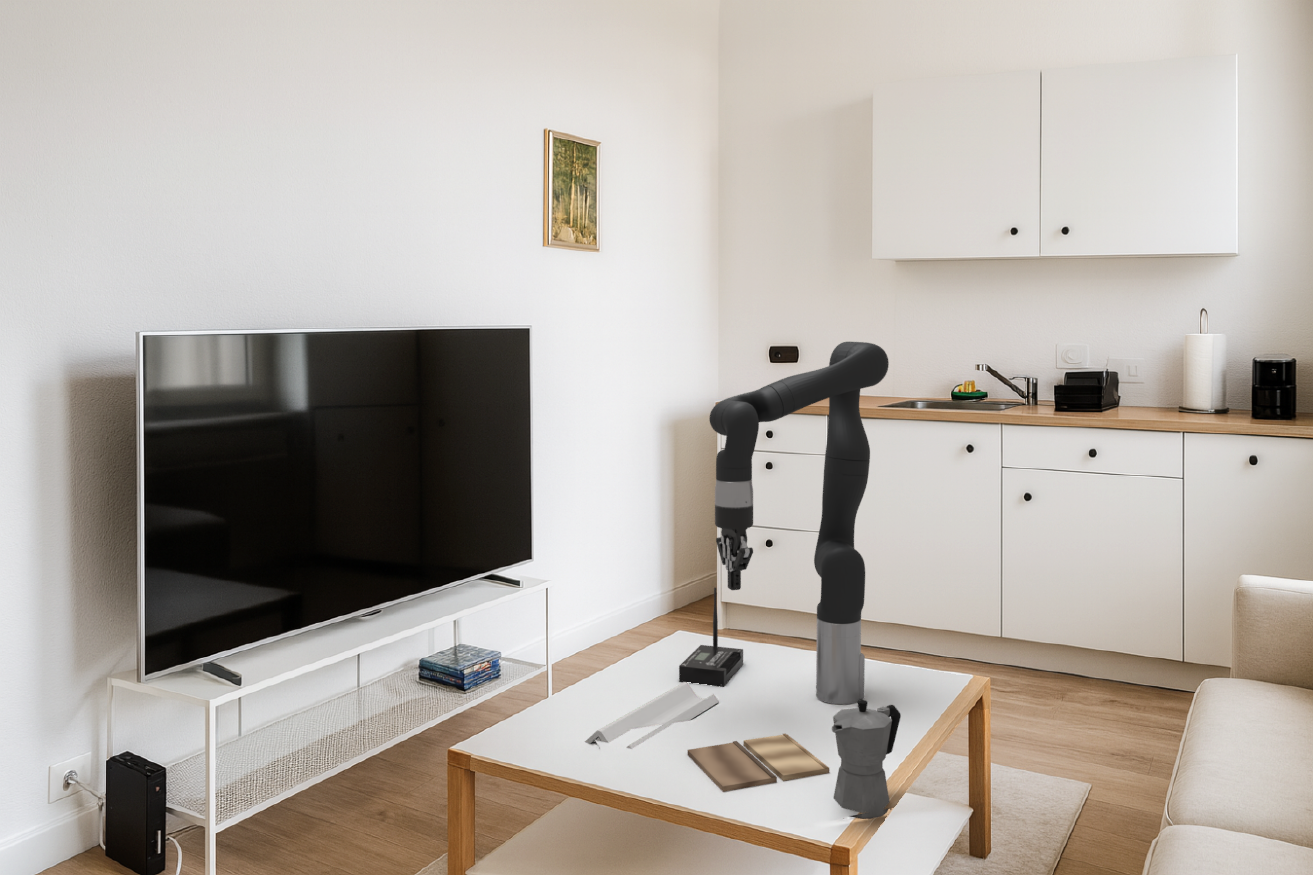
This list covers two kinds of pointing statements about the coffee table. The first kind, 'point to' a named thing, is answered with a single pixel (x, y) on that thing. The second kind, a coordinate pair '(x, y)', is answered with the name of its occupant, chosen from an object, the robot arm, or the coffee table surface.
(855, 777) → the coffeepot
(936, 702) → the coffee table surface
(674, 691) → the crown molding
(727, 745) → the walnut board
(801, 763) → the oak plank
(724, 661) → the wireless controller
